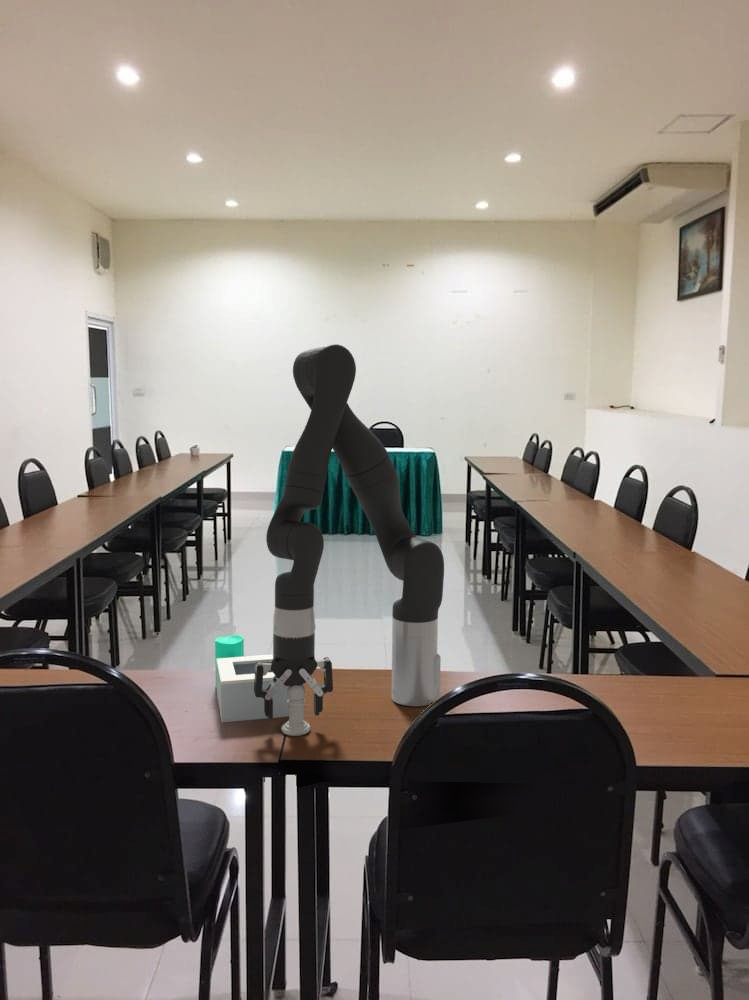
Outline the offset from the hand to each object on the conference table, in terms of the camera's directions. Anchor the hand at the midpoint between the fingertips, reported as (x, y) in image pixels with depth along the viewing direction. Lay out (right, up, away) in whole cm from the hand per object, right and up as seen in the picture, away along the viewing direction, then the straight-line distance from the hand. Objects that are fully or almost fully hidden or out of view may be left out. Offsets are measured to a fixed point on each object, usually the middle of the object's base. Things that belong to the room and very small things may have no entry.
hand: (293, 716), depth 142 cm
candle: (-16, 0, +23) cm, 28 cm away
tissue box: (-9, -1, +12) cm, 15 cm away
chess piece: (0, -3, 0) cm, 3 cm away
